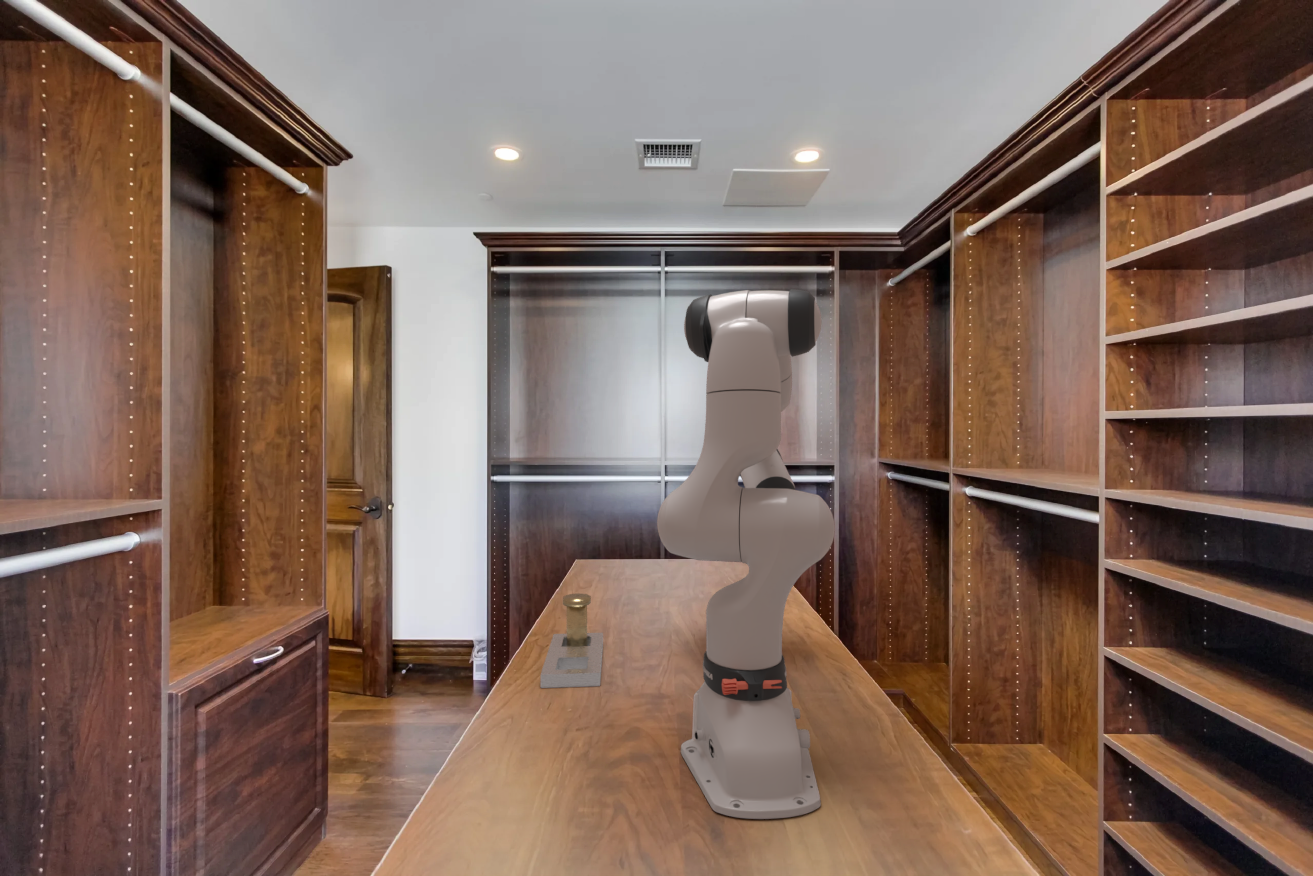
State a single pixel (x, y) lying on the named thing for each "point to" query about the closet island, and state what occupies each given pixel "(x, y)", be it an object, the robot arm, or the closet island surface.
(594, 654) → the plate
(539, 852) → the closet island surface
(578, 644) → the brass capped peg
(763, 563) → the robot arm
